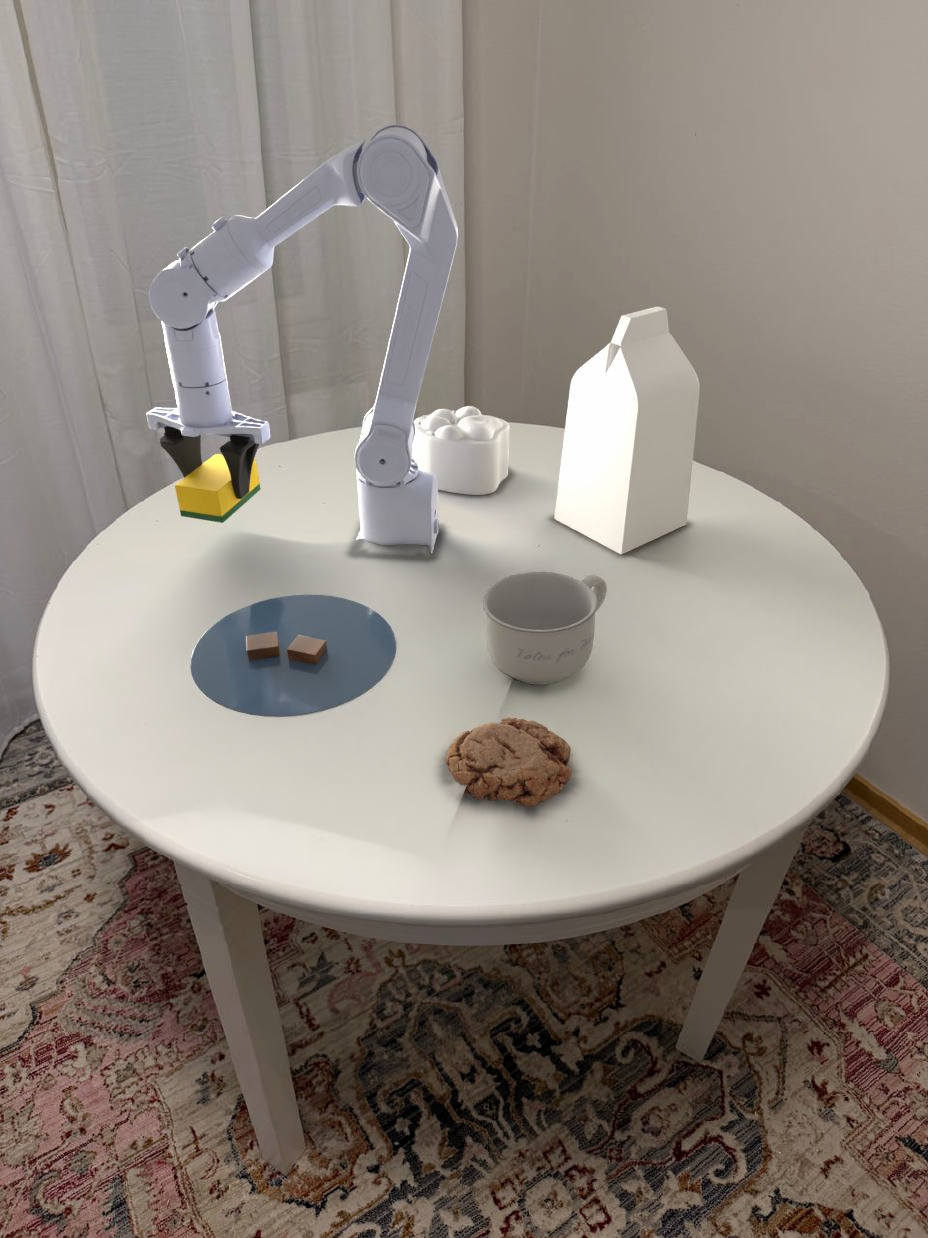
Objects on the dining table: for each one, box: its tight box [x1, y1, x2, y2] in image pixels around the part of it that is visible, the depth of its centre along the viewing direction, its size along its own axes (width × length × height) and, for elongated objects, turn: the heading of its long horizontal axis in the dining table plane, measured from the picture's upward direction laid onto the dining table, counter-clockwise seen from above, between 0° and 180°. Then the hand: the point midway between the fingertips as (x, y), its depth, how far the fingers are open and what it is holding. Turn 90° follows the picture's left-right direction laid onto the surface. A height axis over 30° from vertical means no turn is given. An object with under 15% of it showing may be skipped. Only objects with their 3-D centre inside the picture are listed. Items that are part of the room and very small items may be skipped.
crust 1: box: [246, 632, 280, 660], centre depth 86 cm, size 3×2×1 cm
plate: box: [189, 593, 397, 718], centre depth 87 cm, size 20×20×1 cm
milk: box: [553, 305, 701, 555], centre depth 104 cm, size 12×12×26 cm
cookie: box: [445, 717, 572, 807], centre depth 74 cm, size 10×11×3 cm
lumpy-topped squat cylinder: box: [412, 405, 511, 496], centre depth 120 cm, size 10×13×9 cm
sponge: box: [174, 453, 262, 524], centre depth 103 cm, size 6×9×4 cm, turn 163°
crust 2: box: [287, 635, 327, 665], centre depth 85 cm, size 3×2×1 cm
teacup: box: [481, 571, 608, 685], centre depth 85 cm, size 14×11×8 cm
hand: (219, 491), depth 104 cm, fingers closed on sponge, 5 cm apart
